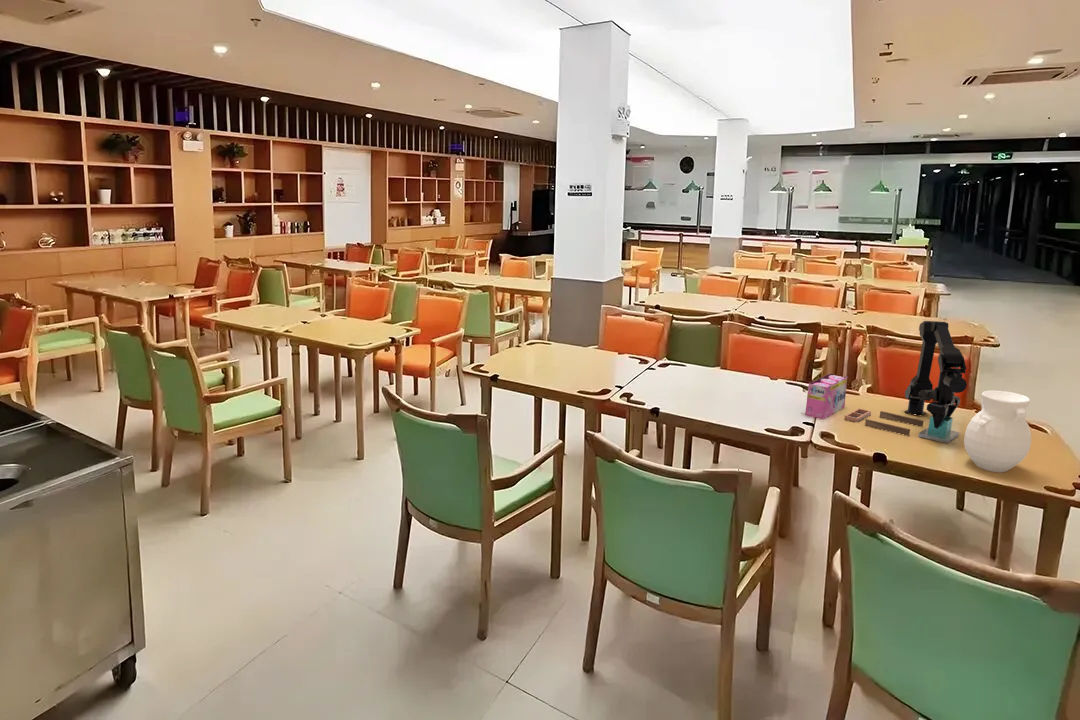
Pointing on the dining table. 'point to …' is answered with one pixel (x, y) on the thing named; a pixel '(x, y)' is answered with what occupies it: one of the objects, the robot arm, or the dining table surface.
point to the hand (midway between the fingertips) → (940, 425)
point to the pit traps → (857, 415)
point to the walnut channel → (892, 427)
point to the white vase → (999, 431)
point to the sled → (940, 431)
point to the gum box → (826, 396)
